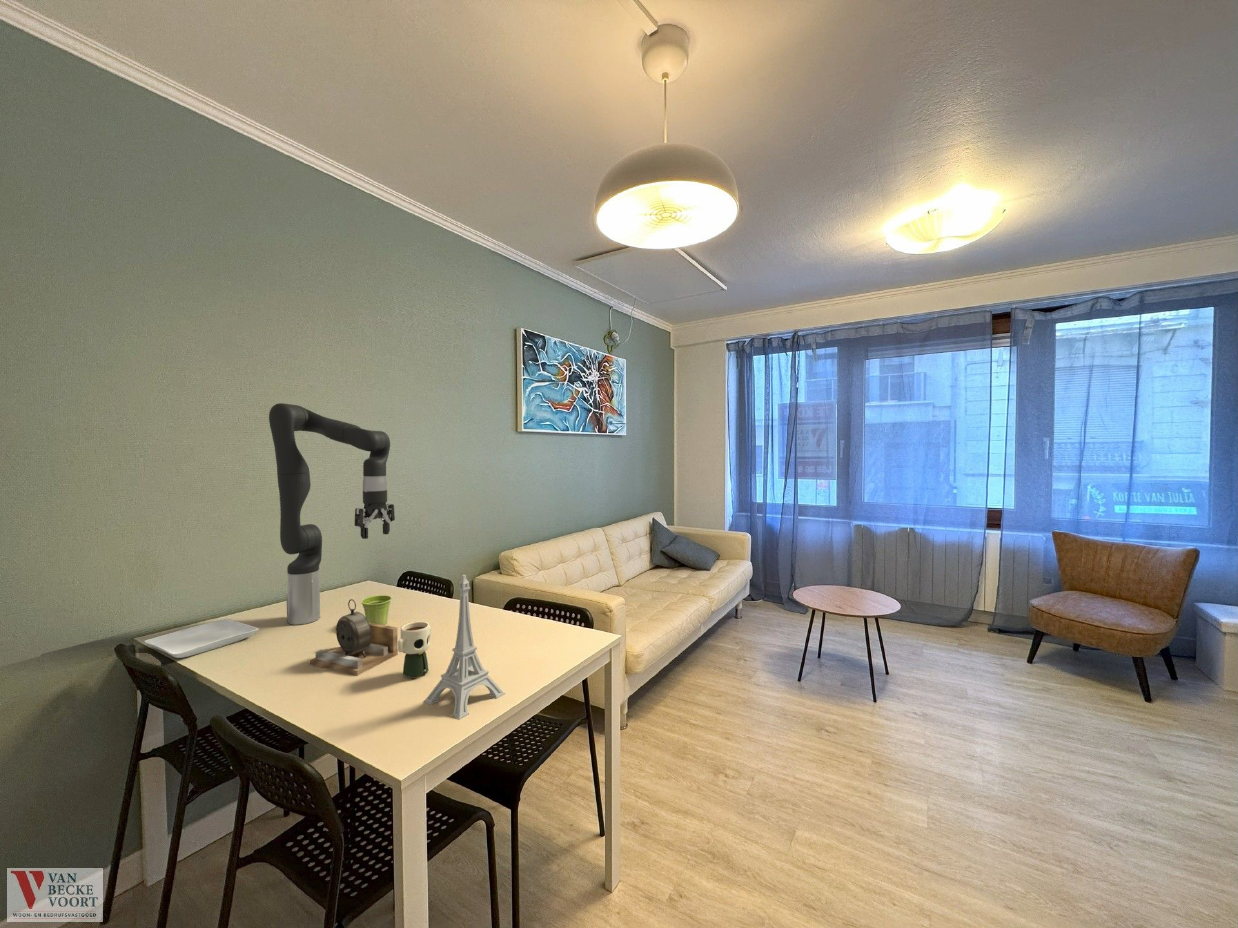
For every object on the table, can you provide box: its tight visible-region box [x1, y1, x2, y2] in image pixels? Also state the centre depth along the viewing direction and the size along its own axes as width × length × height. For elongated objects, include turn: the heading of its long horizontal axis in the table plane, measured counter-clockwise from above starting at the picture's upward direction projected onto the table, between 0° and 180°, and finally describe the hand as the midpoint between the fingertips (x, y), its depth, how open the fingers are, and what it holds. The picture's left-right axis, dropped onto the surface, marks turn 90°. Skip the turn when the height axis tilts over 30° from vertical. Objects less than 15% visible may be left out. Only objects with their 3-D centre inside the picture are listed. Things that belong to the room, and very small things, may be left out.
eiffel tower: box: [423, 574, 506, 720], centre depth 114 cm, size 13×13×30 cm
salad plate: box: [143, 618, 260, 659], centre depth 146 cm, size 21×21×3 cm
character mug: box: [398, 621, 432, 679], centre depth 126 cm, size 11×7×13 cm, turn 157°
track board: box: [309, 623, 399, 676], centre depth 135 cm, size 18×14×8 cm
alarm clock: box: [335, 598, 372, 658], centre depth 134 cm, size 11×5×16 cm, turn 59°
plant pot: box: [360, 594, 393, 625], centre depth 161 cm, size 9×9×9 cm
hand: (375, 536), depth 163 cm, fingers open, 8 cm apart
